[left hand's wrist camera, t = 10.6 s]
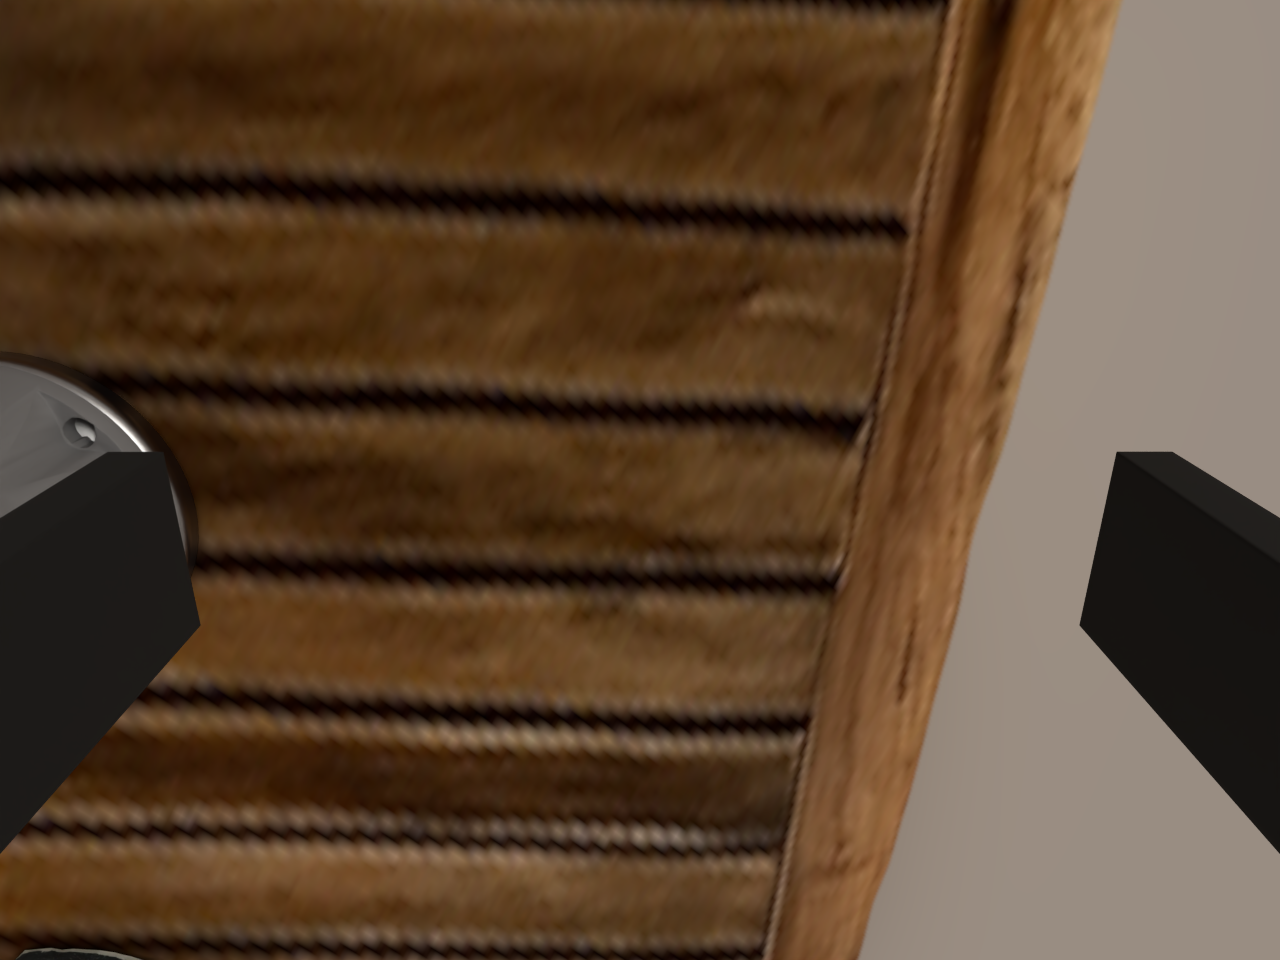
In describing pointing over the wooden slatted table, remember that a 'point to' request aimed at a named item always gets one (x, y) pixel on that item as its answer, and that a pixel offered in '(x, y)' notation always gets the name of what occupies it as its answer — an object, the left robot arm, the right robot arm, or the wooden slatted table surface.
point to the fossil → (71, 955)
